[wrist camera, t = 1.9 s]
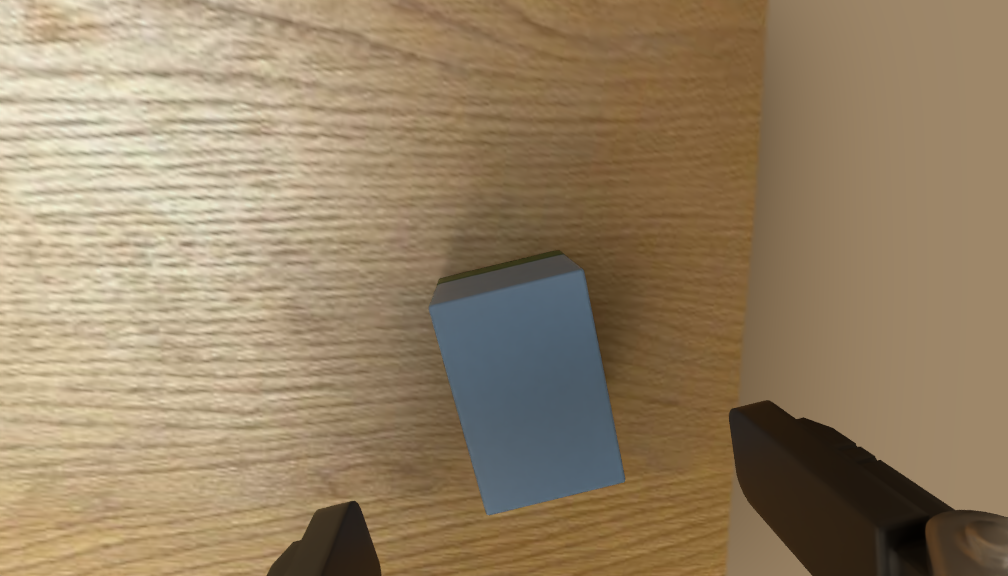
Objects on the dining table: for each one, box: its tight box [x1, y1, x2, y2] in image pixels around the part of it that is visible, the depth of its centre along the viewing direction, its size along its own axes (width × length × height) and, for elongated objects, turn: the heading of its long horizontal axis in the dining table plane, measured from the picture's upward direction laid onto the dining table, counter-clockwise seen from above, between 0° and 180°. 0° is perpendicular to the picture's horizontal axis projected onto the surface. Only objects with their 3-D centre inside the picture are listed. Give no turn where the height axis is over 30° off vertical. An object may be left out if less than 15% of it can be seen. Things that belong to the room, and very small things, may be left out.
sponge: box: [429, 250, 625, 515], centre depth 16 cm, size 7×4×4 cm, turn 13°
